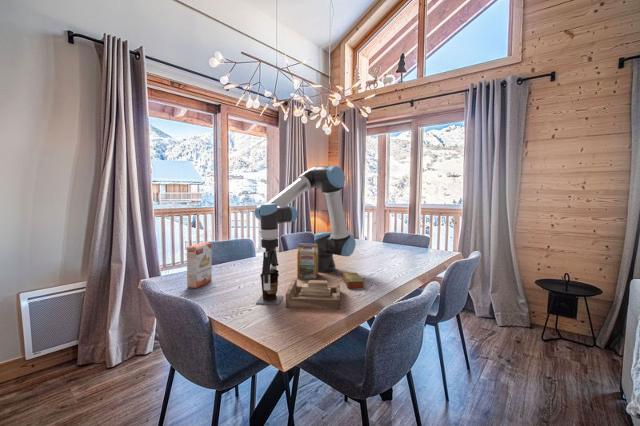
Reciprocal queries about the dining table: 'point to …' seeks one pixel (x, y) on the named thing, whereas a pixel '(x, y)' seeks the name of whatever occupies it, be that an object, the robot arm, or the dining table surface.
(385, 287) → the dining table surface
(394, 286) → the dining table surface
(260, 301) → the coaster
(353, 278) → the carton
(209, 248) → the cracker box
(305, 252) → the milk carton
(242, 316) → the dining table surface
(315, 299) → the brown wooden tray
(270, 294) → the coffee cup
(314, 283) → the offcut stack
